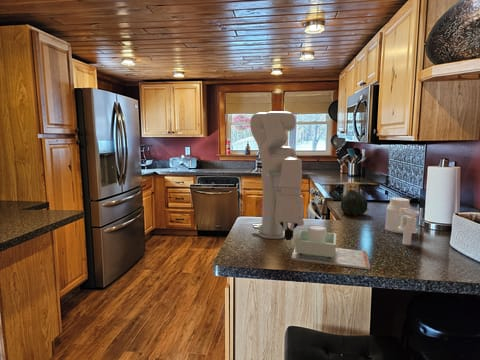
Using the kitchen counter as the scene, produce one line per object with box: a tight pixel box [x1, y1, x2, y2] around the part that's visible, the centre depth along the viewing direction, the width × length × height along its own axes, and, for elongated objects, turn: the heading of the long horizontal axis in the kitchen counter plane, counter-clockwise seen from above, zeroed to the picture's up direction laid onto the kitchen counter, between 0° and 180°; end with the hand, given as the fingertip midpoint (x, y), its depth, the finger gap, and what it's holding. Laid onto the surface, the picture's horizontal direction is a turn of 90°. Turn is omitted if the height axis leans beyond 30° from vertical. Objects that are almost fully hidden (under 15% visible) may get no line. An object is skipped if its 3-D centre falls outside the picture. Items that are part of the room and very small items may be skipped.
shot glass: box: [307, 224, 327, 243], centre depth 115 cm, size 7×7×7 cm
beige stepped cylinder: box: [398, 208, 420, 246], centre depth 129 cm, size 7×7×15 cm
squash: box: [340, 190, 368, 217], centre depth 181 cm, size 14×15×15 cm
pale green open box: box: [294, 229, 337, 259], centre depth 116 cm, size 14×14×6 cm
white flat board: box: [290, 247, 371, 271], centre depth 115 cm, size 26×16×1 cm, turn 73°
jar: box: [384, 197, 413, 234], centre depth 150 cm, size 12×10×15 cm
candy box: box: [342, 181, 360, 198], centre depth 204 cm, size 9×4×15 cm, turn 103°
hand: (288, 239), depth 118 cm, fingers closed
